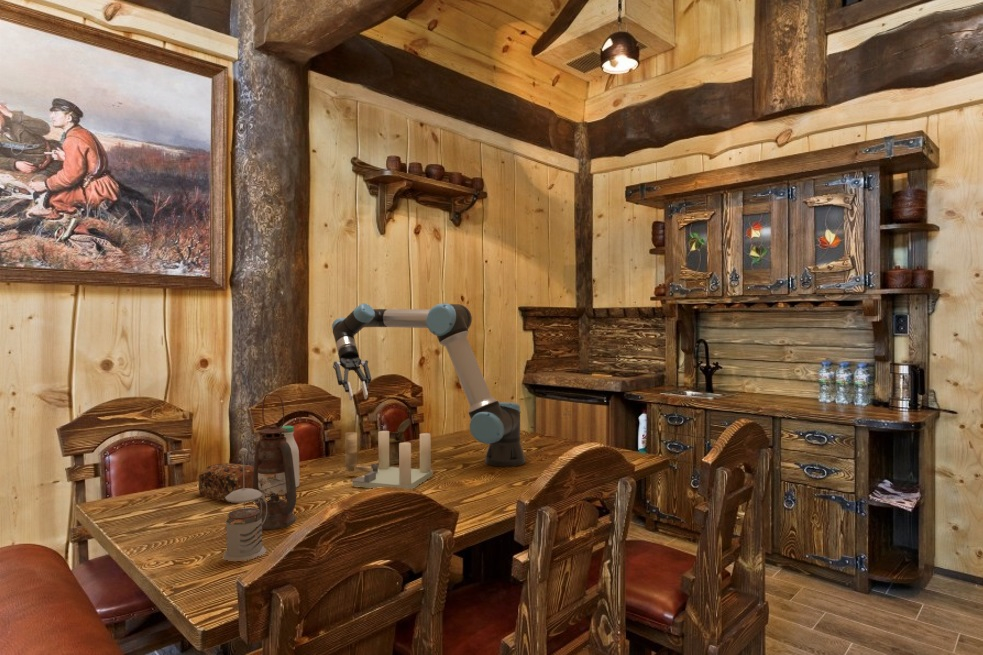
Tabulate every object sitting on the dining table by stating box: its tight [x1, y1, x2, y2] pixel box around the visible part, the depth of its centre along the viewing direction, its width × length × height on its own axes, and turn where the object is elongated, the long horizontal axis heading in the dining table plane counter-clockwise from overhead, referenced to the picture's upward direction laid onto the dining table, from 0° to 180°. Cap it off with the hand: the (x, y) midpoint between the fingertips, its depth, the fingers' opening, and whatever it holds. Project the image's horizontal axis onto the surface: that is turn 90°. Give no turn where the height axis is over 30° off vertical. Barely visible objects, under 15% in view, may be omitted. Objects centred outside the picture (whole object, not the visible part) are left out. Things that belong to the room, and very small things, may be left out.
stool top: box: [350, 430, 434, 491], centre depth 200 cm, size 21×21×15 cm
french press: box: [222, 447, 267, 562], centre depth 140 cm, size 10×12×25 cm
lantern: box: [253, 393, 297, 530], centre depth 160 cm, size 11×16×35 cm
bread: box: [197, 462, 263, 503], centre depth 185 cm, size 19×11×10 cm, turn 58°
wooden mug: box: [389, 417, 411, 466], centre depth 226 cm, size 9×14×18 cm, turn 58°
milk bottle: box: [274, 425, 300, 491], centre depth 194 cm, size 8×8×20 cm
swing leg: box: [344, 431, 379, 473], centre depth 205 cm, size 12×4×13 cm, turn 73°
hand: (358, 397), depth 218 cm, fingers open, 5 cm apart
